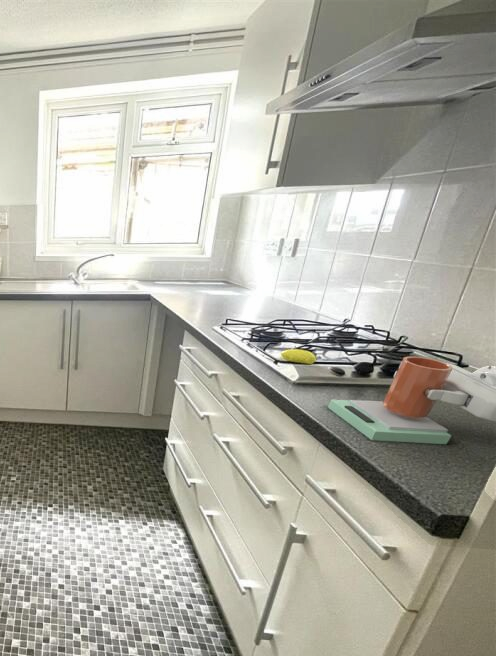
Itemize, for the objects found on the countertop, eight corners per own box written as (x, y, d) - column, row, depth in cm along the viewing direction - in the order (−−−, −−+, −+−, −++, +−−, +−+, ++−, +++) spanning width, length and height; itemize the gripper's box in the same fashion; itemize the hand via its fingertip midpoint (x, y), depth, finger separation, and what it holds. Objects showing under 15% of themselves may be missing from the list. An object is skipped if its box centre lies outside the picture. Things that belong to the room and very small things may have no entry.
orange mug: (392, 399, 86) (414, 354, 82) (434, 413, 80) (459, 366, 76) (374, 405, 83) (396, 359, 79) (416, 421, 78) (441, 372, 74)
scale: (391, 412, 89) (397, 399, 88) (445, 446, 78) (453, 432, 76) (326, 409, 90) (331, 396, 89) (370, 442, 79) (377, 428, 78)
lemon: (314, 368, 111) (319, 354, 109) (278, 362, 115) (283, 348, 113) (313, 363, 114) (318, 349, 112) (278, 357, 118) (282, 344, 116)
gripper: (459, 354, 85) (382, 349, 88) (564, 399, 67) (463, 392, 69) (444, 382, 88) (370, 377, 90) (541, 432, 70) (445, 424, 72)
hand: (411, 384), depth 80 cm, fingers closed on orange mug, 7 cm apart
